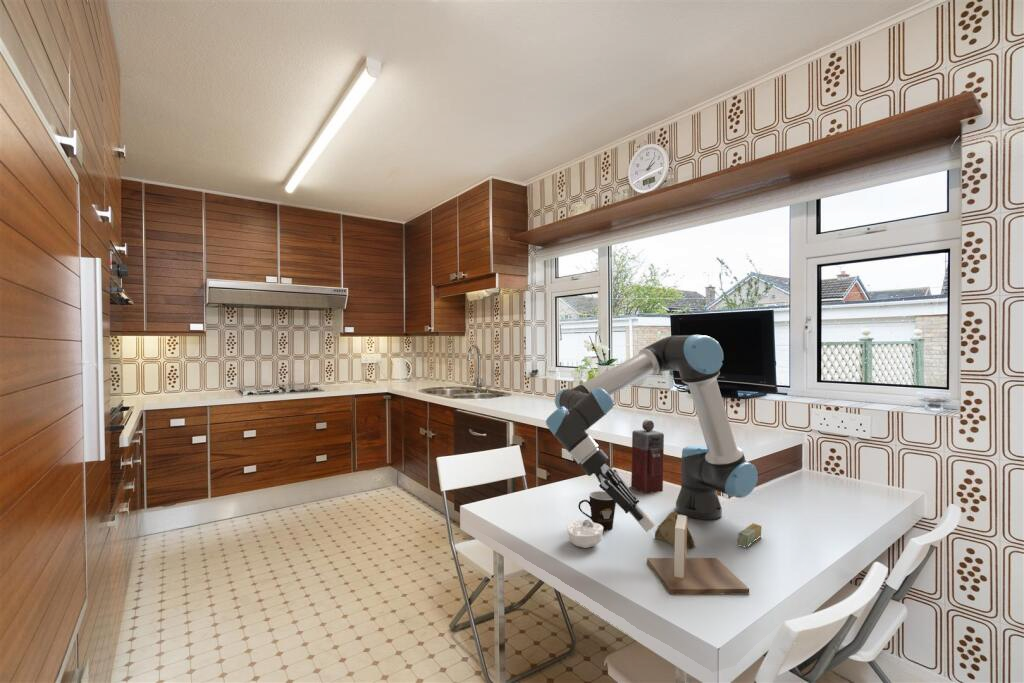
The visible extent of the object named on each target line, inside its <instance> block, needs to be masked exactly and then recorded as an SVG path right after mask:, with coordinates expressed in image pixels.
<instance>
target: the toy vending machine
mask: <svg viewBox="0 0 1024 683" xmlns="http://www.w3.org/2000/svg"><path fill="white" fill-rule="evenodd" d="M641 427H642V429H637V430H633V431H632V435H631V436H632V437H631V442H632V443H631V482H630V483H631V484H630V487H631V488H632V487H633V488H632V489H634V488H635V490H636V489H637V491H639V490H640V491H639V492H641V491H642V492H641V493H643V492H644V494H646V493H647V494H652V493H651V492H653V493H658V492H657V491H660V492H663V491H664V454H665V453H664V452H665V451H664V450H665V449H664V445H665V444H664V442H665V435H664V433H663V432H661V431H657V430H654V428H655V424H654V421H652V420H649V419H645V420H643V422H642V426H641Z"/></svg>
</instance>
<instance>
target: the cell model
mask: <svg viewBox="0 0 1024 683" xmlns="http://www.w3.org/2000/svg"><path fill="white" fill-rule="evenodd" d="M603 533H604V531H603V526H602V525H600V524H598V523H594V522H592V520H591V519H590V518H589V519H585V520H578V521H575V522H571V523H569V524H568V525H567V534H568V536H567V537H568V540H569V541H570V542H571V543H572V544H573V545H575V546H576V547H578V548H579V547H580V548H584V549H589V548H590V547H591V548H592V547H594V546H597V545H599V544H600V542H601V541H602V538H603Z"/></svg>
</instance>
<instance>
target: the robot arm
mask: <svg viewBox="0 0 1024 683" xmlns="http://www.w3.org/2000/svg"><path fill="white" fill-rule="evenodd" d="M723 361H724V351H723V348H722V347H721V345H720V343H719V341H717V340H716V339H715V338H713V337H711V336H708V335H702V334H690V335H687V334H684V335H683V334H682V335H670V336H667V337H664V338H661V339H659V340H658V341H655V342H653V343H651V344H649V345H647V346H645V347H643V348H642V349H640V350H639V352H638V354H636V355H635V356H633V357H631V358H629V359H627V360H625V361H623V362H621V363H620V364H617V365H616V366H613V367H612V368H610V369H608V370H606V371H604V372H602V373H600V374H598V375H596V376H595V377H594V376H593V377H592V378H590V379H588V380H587V381H584V382H583V383H581V384H579V385H577V386H575V387H573V388H567V389H566V388H565V389H561V390H560V391H558V392H557V393H556V394H555V396H554V404H555V407H556V409H555V410H554V411H553V412H552V413H550V415H549V416H548V417H547V419H546V420H545V425H546V426H547V428H548V429H549V431H550V432H551V433H552V435H553V436H554V437H555V438H556V439H557V440H558V442H559V443H560V444H561V445H562V446H563V448H565V450H566V451H567V452H568V453H569V454H570V458H571V459H572V460H575V462H576V463H577V464H578V465H579V464H581V465H580V468H581V469H582V470H583V472H584V473H585V474H586V475H587V476H588V477H590V476H592V475H593V474H594V475H595V477H596V479H597V480H598V482H599V483H600V484H598V485H599V488H600V489H601V490H603V491H604V492H606V493H607V494H608V495H609V496H610V497H611V498H612V499H613V500H614V501H615V502H616V504H617V505H618V506H619V507H620V508H621V509H622V510H623V512H624V513H625V514H628V513H629V514H630V515H631V516H632V517H633V519H634V520H636V522H637V523H638V524H639V525H640V526H641V528H642V529H643V530H644V531H645V532H646V533H648V532H649V531H650V530H652V529H653V528H654V527H655V526H656V523H654V521H653V520H652V519H651V518H650V517H649V516H648V514H647V513H646V512H645V511H644V509H643V508H641V506H640V505H639V503H640V500H639V499H637V497H636V496H635V494H633V492H632V491H631V489H630V488H629V487H628V485H627V483H625V481H624V480H623V479H622V477H621V476H620V475H619V473H618V471H617V470H616V469H615V468H614V469H612V468H611V467H609V465H608V464H606V463H607V462H608V461H609V456H608V455H607V453H606V452H604V450H603V449H600V448H599V446H600V445H599V444H598V443H597V442H596V441H595V440H594V439H593V437H592V436H591V435H590V434H589V433H588V432H587V430H588V429H591V427H592V426H593V425H594V424H596V423H597V422H598V421H600V420H601V419H602V418H603V417H605V416H606V415H607V414H608V413H609V412H610V411H611V410H612V409H613V408H614V401H613V399H612V395H614V394H616V393H618V392H620V391H621V390H623V389H625V388H627V387H629V386H631V385H632V384H634V383H637V382H638V381H640V380H642V379H643V378H645V377H647V376H650V375H651V376H655V375H659V374H660V373H662V372H667V371H675V372H676V371H677V372H679V376H680V379H681V382H682V383H683V384H686V385H687V386H688V389H689V391H690V395H691V399H692V402H693V405H694V409H695V411H696V414H697V415H696V416H697V419H698V422H699V425H700V428H701V431H702V432H701V433H702V435H703V438H704V442H705V445H688V446H685V447H683V448H682V452H681V457H680V458H681V459H680V460H681V461H680V462H681V471H680V472H681V476H680V478H681V484H680V485H681V486H680V490H679V493H678V496H677V498H676V501H675V510H676V511H675V512H677V513H678V514H680V515H684V516H687V518H689V517H690V518H693V519H699V520H708V519H709V520H717V519H716V518H718V519H720V518H722V514H723V513H722V512H723V509H722V506H721V505H722V504H721V502H720V499H719V495H718V493H717V491H718V492H720V493H723V494H725V495H727V496H729V497H734V498H738V499H742V498H745V497H748V495H750V494H751V493H752V492H753V491H754V490H755V487H756V485H757V483H758V476H759V475H758V473H759V472H758V471H757V468H756V466H755V465H754V464H752V463H751V462H749V461H747V460H746V457H745V454H744V451H743V449H741V448H740V447H739V446H737V445H736V442H735V438H734V434H733V431H732V427H731V424H730V420H729V417H728V413H727V411H726V408H725V403H724V399H723V397H722V394H721V391H720V386H719V383H718V378H719V376H720V374H721V371H720V369H721V367H722V366H723ZM719 517H720V518H719Z"/></svg>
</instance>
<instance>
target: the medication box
mask: <svg viewBox="0 0 1024 683" xmlns="http://www.w3.org/2000/svg"><path fill="white" fill-rule="evenodd" d="M761 535H762V525H759V524H757V523H754V522H753V523H752V524H749V525H748V526H747V527H745V528H744V529H742V530H741V531H740V532H738V534H737V546H738V545H741V546H745V547H747V546H748V545H749V544H750V543H752V542H753V541H754V540H755V539H757V538H758V537H759V536H761ZM761 537H762V536H761ZM752 544H753V543H752ZM741 546H740V547H741ZM748 547H749V546H748ZM748 547H747V548H748Z"/></svg>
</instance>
